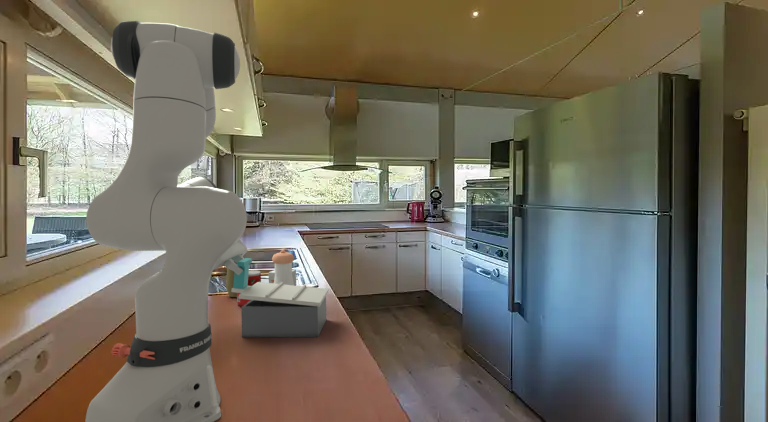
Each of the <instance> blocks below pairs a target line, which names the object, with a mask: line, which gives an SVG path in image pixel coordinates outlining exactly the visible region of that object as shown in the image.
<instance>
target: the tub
mask: <svg viewBox="0 0 768 422" xmlns="http://www.w3.org/2000/svg"><path fill="white" fill-rule="evenodd" d="M240 311H241V314H240V315H241V337H242V338H318V337H319V335H320V334H321V331H322V330H323V328H324V325H325V323H326V321H327V296H326V297H325V298H324V300H323V302H322V303H321V305H320V307H319V306H309V305H299V304H289V303H278V302H268V301H258V300H250V301H249V302H247V303H246V304H245V305H244V306H242V307H240Z"/></svg>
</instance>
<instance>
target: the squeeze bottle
mask: <svg viewBox="0 0 768 422" xmlns="http://www.w3.org/2000/svg"><path fill="white" fill-rule="evenodd" d="M234 263H236V262H235V261H234ZM236 264H237V263H236ZM226 268H227V267H226ZM233 285H234V271H232V270H230V269H228V268H227V269H226V282H225V289H226V291H227V294H228V296H229V297H231V298H237V293H236V292H231V290H232V288H233Z"/></svg>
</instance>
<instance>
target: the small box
mask: <svg viewBox="0 0 768 422" xmlns="http://www.w3.org/2000/svg"><path fill="white" fill-rule="evenodd" d="M292 277H293V282H294V286H297V270H296V269H292ZM274 279H275V269H273V270H270V271H269V272H268V283H274Z"/></svg>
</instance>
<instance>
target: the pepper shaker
mask: <svg viewBox="0 0 768 422" xmlns="http://www.w3.org/2000/svg"><path fill="white" fill-rule="evenodd" d="M271 260H272V262H273V264H274V270H275V279H274V284H279V283H281V282H283V284H284V285H294V282H293V277H292V270H293V264H292V263H293V262H294V260H295V256H294V255H293V253H290V252H287V251H286V250H284V249H281V250H280V252H276V253H274V254H273V256H272V258H271Z"/></svg>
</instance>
